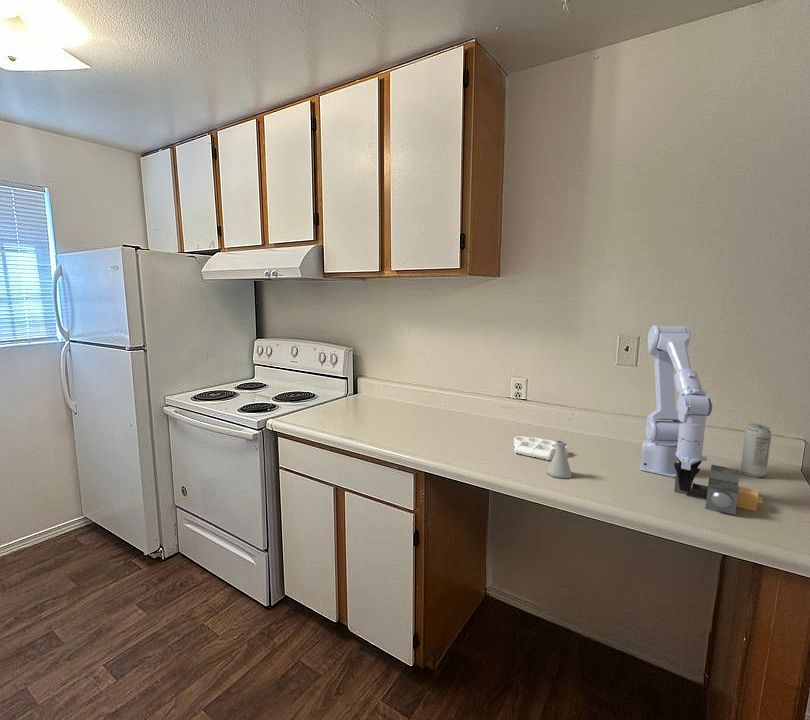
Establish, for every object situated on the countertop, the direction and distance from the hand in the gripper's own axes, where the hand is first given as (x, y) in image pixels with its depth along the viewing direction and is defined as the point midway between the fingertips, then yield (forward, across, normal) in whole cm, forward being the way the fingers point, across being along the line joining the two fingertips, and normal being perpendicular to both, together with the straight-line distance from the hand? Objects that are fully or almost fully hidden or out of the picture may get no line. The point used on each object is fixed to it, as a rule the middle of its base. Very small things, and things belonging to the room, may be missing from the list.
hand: (685, 487), depth 120 cm
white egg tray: (+2, +6, +43) cm, 43 cm away
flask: (+2, -9, +31) cm, 32 cm away
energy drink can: (+2, +27, -15) cm, 31 cm away
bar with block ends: (+1, 0, -7) cm, 7 cm away
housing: (+1, 0, -8) cm, 8 cm away
